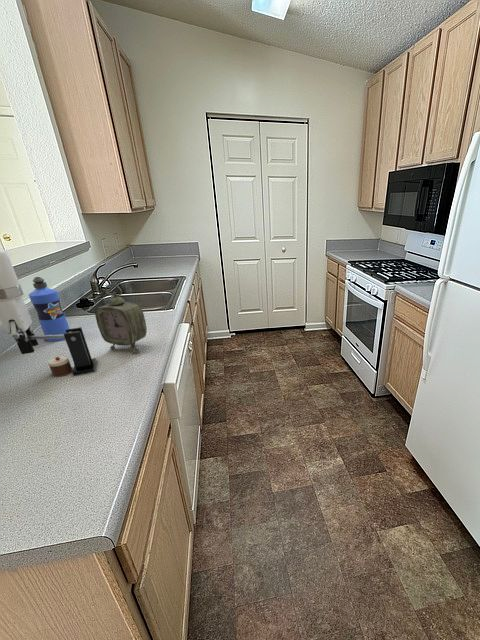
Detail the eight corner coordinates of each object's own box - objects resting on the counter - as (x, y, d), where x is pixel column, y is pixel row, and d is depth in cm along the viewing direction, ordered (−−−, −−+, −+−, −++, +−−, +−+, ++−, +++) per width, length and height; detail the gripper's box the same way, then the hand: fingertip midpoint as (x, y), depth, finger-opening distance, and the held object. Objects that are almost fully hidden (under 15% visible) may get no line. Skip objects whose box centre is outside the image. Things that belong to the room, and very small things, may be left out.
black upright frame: (73, 375, 109) (59, 336, 103) (77, 364, 116) (64, 327, 110) (94, 371, 111) (81, 333, 105) (96, 361, 119) (84, 324, 112)
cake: (51, 377, 108) (45, 362, 105) (54, 370, 113) (48, 355, 110) (71, 374, 110) (65, 358, 108) (73, 367, 115) (68, 352, 112)
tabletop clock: (105, 351, 126) (85, 286, 115) (122, 342, 134) (105, 280, 123) (137, 355, 122) (120, 288, 111) (153, 345, 130) (138, 282, 119)
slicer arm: (20, 344, 101) (18, 337, 100) (24, 338, 105) (22, 331, 104) (79, 341, 108) (78, 334, 107) (80, 336, 112) (79, 329, 111)
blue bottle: (76, 334, 141) (56, 276, 130) (53, 342, 134) (30, 281, 123) (63, 331, 145) (43, 274, 134) (41, 338, 138) (17, 278, 127)
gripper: (-1, 287, 102) (22, 341, 110) (-21, 302, 88) (8, 362, 96) (28, 284, 105) (49, 337, 113) (14, 298, 91) (38, 357, 99)
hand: (30, 348), depth 105 cm, fingers closed on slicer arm, 5 cm apart
